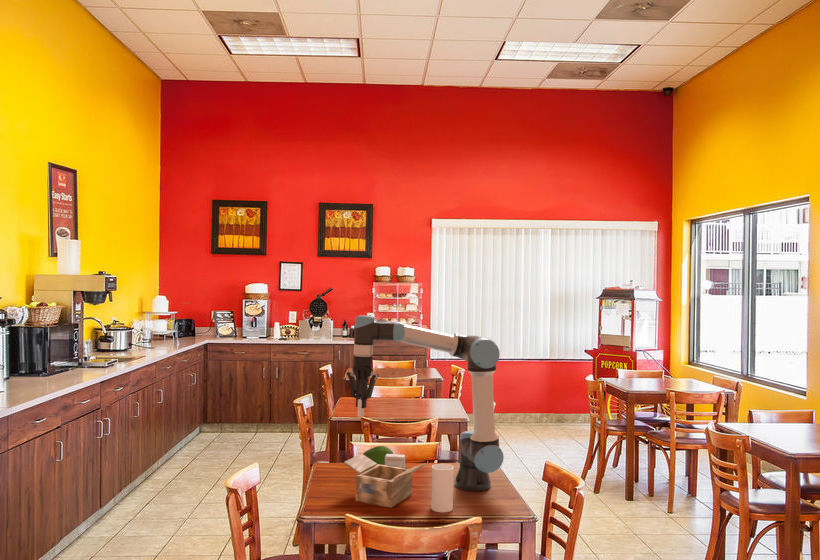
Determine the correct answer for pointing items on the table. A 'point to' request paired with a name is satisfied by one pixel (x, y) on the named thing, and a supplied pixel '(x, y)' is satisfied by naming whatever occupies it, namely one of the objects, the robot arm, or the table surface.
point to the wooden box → (383, 486)
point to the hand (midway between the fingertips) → (360, 416)
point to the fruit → (378, 454)
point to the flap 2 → (409, 471)
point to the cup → (442, 488)
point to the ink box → (395, 460)
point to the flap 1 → (360, 463)
